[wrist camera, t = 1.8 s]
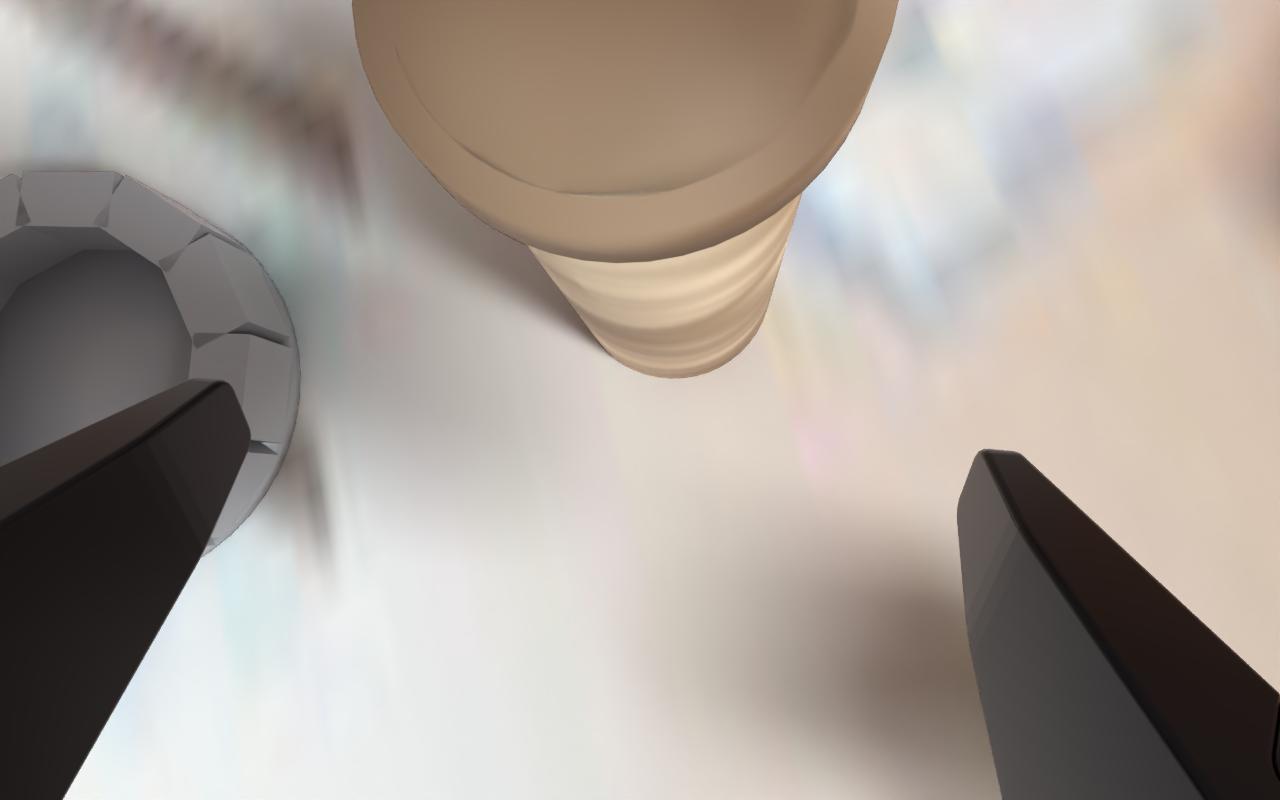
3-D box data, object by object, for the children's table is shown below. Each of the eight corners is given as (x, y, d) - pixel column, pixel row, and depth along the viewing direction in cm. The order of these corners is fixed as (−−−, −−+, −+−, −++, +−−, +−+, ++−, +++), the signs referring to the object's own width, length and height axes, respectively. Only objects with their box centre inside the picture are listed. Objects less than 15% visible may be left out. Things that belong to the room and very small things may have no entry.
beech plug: (709, 435, 21) (705, 342, 8) (525, 319, 22) (251, 65, 9) (827, 248, 21) (1010, -136, 8) (641, 141, 22) (542, -360, 9)
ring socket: (151, 665, 21) (75, 689, 19) (-130, 450, 23) (-236, 444, 20) (374, 329, 22) (330, 308, 19) (86, 141, 23) (9, 98, 21)
